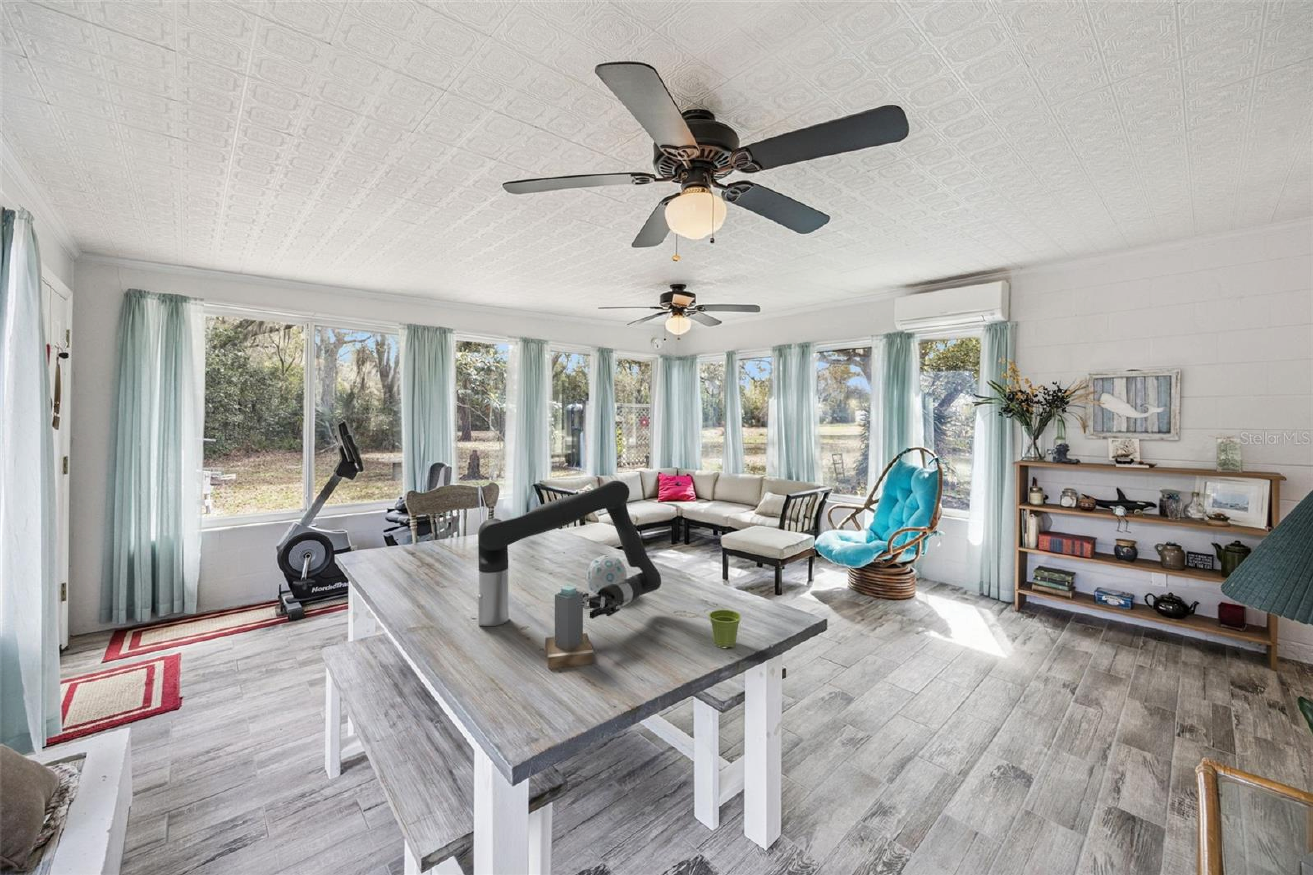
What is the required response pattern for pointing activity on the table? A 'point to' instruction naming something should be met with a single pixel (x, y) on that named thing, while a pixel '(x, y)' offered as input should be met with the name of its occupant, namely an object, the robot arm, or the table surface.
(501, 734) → the table surface
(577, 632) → the carrier
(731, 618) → the plant pot
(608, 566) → the puzzle ball
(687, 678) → the table surface
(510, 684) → the table surface
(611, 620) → the table surface
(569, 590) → the block
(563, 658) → the block
